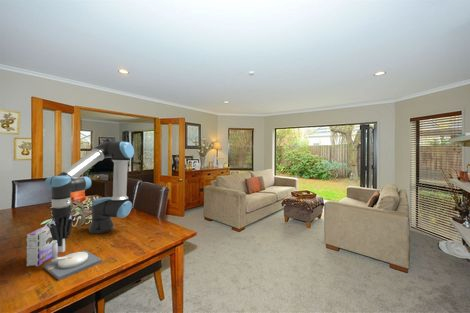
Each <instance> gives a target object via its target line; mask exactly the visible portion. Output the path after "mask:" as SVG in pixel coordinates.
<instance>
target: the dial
mask: <svg viewBox="0 0 470 313" xmlns="http://www.w3.org/2000/svg"><path fill="white" fill-rule="evenodd" d="M58 255H59V253H58V243H53V244H52V257H51V258H52V259H51V260H50V262H53V261H58V267H59V268H72V267H76V266H79V265H81V264H83V263H85V262H86V261H87V260H88V253H86V252H81V251H77V252H73V253H69V254H66V255H64V256H58Z"/></svg>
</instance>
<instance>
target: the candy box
mask: <svg viewBox="0 0 470 313" xmlns="http://www.w3.org/2000/svg"><path fill="white" fill-rule="evenodd" d="M53 243H57V240H53V239H52V235H51V232H50V229H49V227H48V226H47V224H46V225H44V226H42V227H41V228H38V229H36V230H34V231H32V232H29V233H26V247H25V248H26V251H25V252H26V256H25V257H26V259H25V260H26V267H39V266H41V265H42V264H43V263H46V262H47V261H48V260H50V259H51V258H52V244H53ZM59 253H60V252H58V254H59Z"/></svg>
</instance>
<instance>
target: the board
mask: <svg viewBox="0 0 470 313" xmlns="http://www.w3.org/2000/svg"><path fill="white" fill-rule="evenodd" d="M80 252H86V253H88V260H87V261H86V262H85V263H83V264H81V265H79V266H76V267H72V268H59V267H58V261H53V262H51V261H49V262H48V263H47V262H46V263H45V264H43V268H44V269H45V271H46V272H48V273H49V274H51V275H52V276H53V277H54V278H55V279H56V280H58V281H61V280H63V279H66V278H68V277H70V276H73V275H75V274H78V273H80V272H83V271H84V270H86V269H87V270H88V269H89V268H91V267H94V266H96V265H98V264H101V263H102V261H103V259H102V258H100V257H99V256H96V255H95V254H93V253H91V252H89V251H88V250H85V249H84V250H82V251H80Z"/></svg>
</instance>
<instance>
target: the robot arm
mask: <svg viewBox="0 0 470 313" xmlns="http://www.w3.org/2000/svg"><path fill="white" fill-rule="evenodd" d="M134 148H135V147H134V146H133V144H132V143H130V142H128V141H104V142H102V143H100V144H99V145H97V146H95V147H94V148H92V149H91V150H90V152H89V153H88V154H86V155H85V156H84V157H82V158H81V159H79V160H77V161H76V162H75V163H73V164H71V165H70V166H69V167H67V168H66V169H65V170H63V171H62V172H60V173H59V174H57V175H50V176H47V178H46V179H45V181H44V186H45V187H46V188H47V189H49V190H51V215H52V218H51V220H52V221H50V222H49V223H47V224H46V225H47V226H48V227H49V229H50V232H51V235H52V239H53V240H57V243H58V252H59V253H64V252H65V251H66V244H67V239H68V238H69V236H70V235H71V231H72V226H73V221H74V219H75V216H74V215H71V212H72V208H71V207H72V205H71V204H72V200H71V199H72V193H75V192H80V191H85V190H88V189H90V188H91V186H92V179H91V178H90V177H88V176H81V175H82V174H84V173H85V172H87V171H88V170H89V169H90V168H92V167H93V166H95V165H96V164H97V163H98V162H100V161H101V162H102V161H103V160H104V159H107V158H111V161H112V162H113V176H112V177H113V180H112V196H110V197H109V196H107V197H106V196H105V197H100V198H96V199H95V198H94V200H92V202H91V221H90V224H89V228H88V233H90V234H92V235H97V234H105V233H108V232H111V231H112V230H114V228H115V227H114V222H113V220H112V218H117V219H119V218H125V217H127V216H128V215H129V214H130V212H131V211H132V208H133V203H132V202H131V201H130V199H129V196H127V189H128V188H127V186H128V164H129V162H130V161H131V159H132V158H133V157H134V154H135V150H134Z"/></svg>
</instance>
